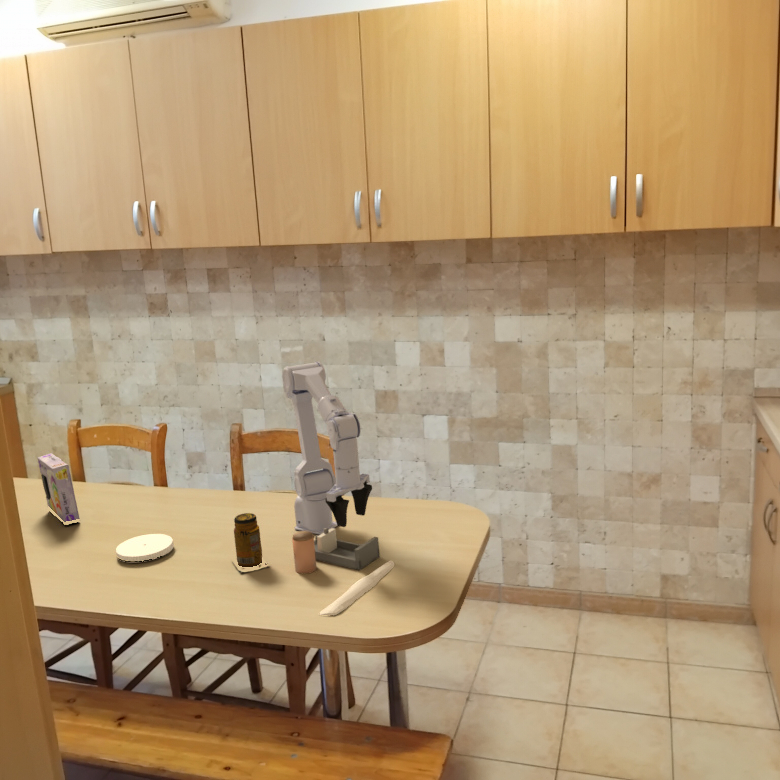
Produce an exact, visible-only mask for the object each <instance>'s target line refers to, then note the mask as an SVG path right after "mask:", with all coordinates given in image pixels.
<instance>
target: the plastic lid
mask: <svg viewBox="0 0 780 780" xmlns="http://www.w3.org/2000/svg"><path fill="white" fill-rule="evenodd" d="M174 548H175V547H174V540H173V537H171V536H170V535H169V534H163V533H150V534H149V533H148V534H143V535H137V536H134V537H130V538H129V539H126V540H125V541H122V542H121V543H120V544H118V545H117V546H116V548H115V553H116V554H115V555H117V556H118V557H119V558H121V559H123V560H128V561H142V560H143V561H144V560H149V559H152V560H155V559H158V558H157V557H159V558H160V556H162V557H164V556H166V555H168V554H169V553H170V552H171V551H172V550H173V549H174ZM117 556H116V557H117ZM143 561H142V562H143ZM149 561H150V560H149ZM144 562H145V561H144Z"/></svg>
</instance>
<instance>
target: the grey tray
mask: <svg viewBox="0 0 780 780" xmlns="http://www.w3.org/2000/svg"><path fill="white" fill-rule="evenodd" d="M317 536H319V534H315V536H314V545H315V555H316V561H319V562H323V563H328V564H332V565H335V566H340V567H344V568H349V569H352V570H356V571H361V570H362V569H364V568H365V567H367V566H369V565H370V564H371V563H373V562H374V561H375V560H377V559H378V558H379V559H380V556H381V555H380V543H379V537H378V536H373V537H372V538H370V539H368V540H366V541H365V542H363V543H355V542H353V541H352V542H351V541H347V540H343V539H337V538H336V539H337V548H336V549H335V550H333V551H331V552H330V553H328V552H323V551H319V550H318V544H317Z"/></svg>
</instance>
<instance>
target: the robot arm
mask: <svg viewBox="0 0 780 780" xmlns="http://www.w3.org/2000/svg"><path fill="white" fill-rule="evenodd" d="M281 377H282V383H283V390H284V394H285V397H286V398H287V399H290V400H291V401H292V405H293V410H294V411H293V412H294V416H295V422H296V426H297V428H296V429H297V433H298V434H297V435H298V440H299V446H300V451H301V457H302V460H301V462H300V463H299V464H298V465H297V466H296V467H295V469H294V471H293V474H294V480H293V483H294V490H295V492H296V495H297V496H296V498H295V500H294V515H295V527H294V530H297V531H310V532H312V533H313V535H314V534H315V535H321V534H322V533H324V530H323V529H324V528H328V530H329V529H331V528H334V529H336V527H342V528H346V527H347V524H348V523H347V522H348V521H347V520H348V519H347V517H348V516H347V515H348V514H347V513H348V507H349V503H350V500H349V499H344V497H343V496H344V495H346V494H348V493H351V495H352V500H353V505H354V510H355V514H356V515H358V516H363V517H364V516H365V515H366V511H367V504H368V500H369V497H370V494H371V491H372V490H373V486H372V484H369V483H370V482H371V480H370V479H371V478H370V474H369V473H361V474H360V461H359V460H360V459H359V449H358V448H359V447H358V438H360V436H361V429H362V428H361V423H360V420H359V418H358V416H357V413H355V412H351V411H348V410H347V409H346V408H345V406H344V405H343V403H342V402H341V400H340V399H339V397H338V396H336V395H333V394H331V393H330V391H329V389H328V386H327V384H326V379H327V378H326V377H327V376H326V370H325V367H324V365H323V364H322V363H321V361H315V362H310V363H304V364H297V365H290V366H288V365H287V366H284V368H283V371H282V375H281ZM312 399H314V400H315V401H316V402H317V412H318V413H319V415H320V416H321V418H322V420H323V421H324V423H325V424H326V431H327V435H328V438H329V443H330V448H331V449H332V451H333V452H332V453H333V464H334V470H333V466H332V463H330V462H329V461H327V460H325V459H323V458H322V456H321V455H322V454H321V449H320V444H319V443H320V442H319V437H318V430H317V424H316V419H315V413H314V407H313V401H312ZM333 517H334V519H335V521H333Z"/></svg>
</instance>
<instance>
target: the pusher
mask: <svg viewBox="0 0 780 780" xmlns="http://www.w3.org/2000/svg"><path fill="white" fill-rule="evenodd" d="M323 530H324V533H322V534H321V535H319V534H318V535H319V536H317V544H318V550H319V551H323V552H328V553H330V552H331V551H333V550H335V549H336V548H337V529H336V528H331V529H329V530H328V528H324V529H323Z"/></svg>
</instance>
